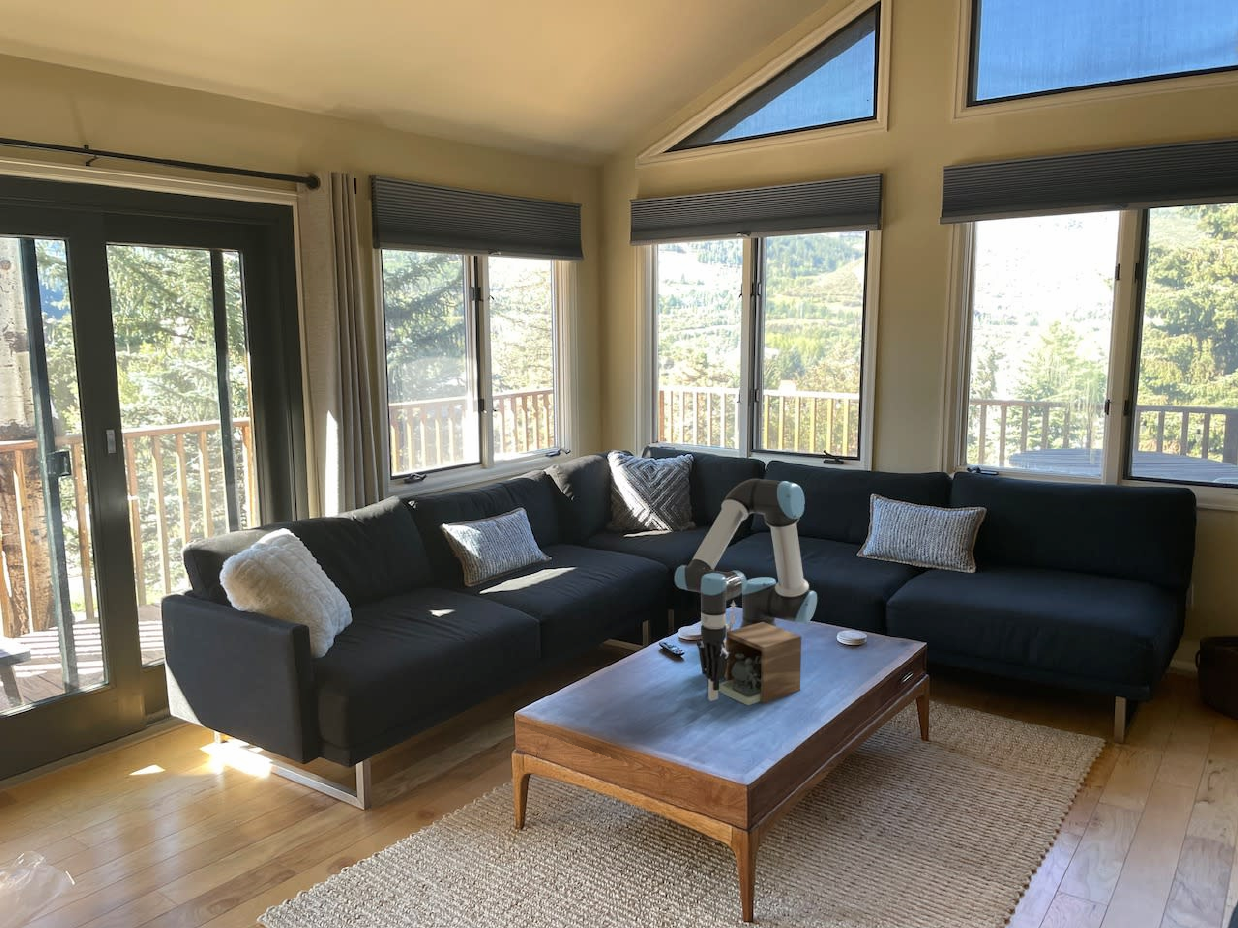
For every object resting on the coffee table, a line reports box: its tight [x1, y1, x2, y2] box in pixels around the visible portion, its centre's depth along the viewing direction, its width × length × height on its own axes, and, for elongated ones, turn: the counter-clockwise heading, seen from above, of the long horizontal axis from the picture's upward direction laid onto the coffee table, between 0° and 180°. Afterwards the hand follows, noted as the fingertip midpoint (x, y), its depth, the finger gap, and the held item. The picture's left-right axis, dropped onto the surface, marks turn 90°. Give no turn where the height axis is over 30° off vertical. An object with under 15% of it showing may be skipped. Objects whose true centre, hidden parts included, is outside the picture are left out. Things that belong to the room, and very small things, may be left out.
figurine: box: [732, 653, 762, 697], centre depth 300 cm, size 11×11×12 cm
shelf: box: [725, 622, 802, 704], centre depth 303 cm, size 17×16×18 cm
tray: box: [718, 677, 761, 706], centre depth 301 cm, size 14×14×2 cm
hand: (713, 698), depth 293 cm, fingers closed
